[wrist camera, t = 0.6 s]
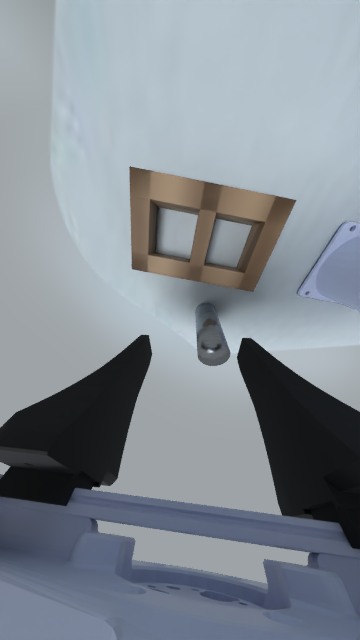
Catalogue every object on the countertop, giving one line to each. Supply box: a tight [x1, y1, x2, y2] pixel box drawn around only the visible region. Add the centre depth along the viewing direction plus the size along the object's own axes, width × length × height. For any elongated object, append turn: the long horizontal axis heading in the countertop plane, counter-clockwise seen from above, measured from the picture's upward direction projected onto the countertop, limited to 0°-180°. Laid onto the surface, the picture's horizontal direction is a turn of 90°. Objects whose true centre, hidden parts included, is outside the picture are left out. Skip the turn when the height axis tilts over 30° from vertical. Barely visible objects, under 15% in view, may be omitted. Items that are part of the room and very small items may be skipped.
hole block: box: [130, 167, 296, 292], centre depth 14 cm, size 14×8×3 cm, turn 81°
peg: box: [195, 303, 230, 366], centre depth 16 cm, size 3×3×9 cm
